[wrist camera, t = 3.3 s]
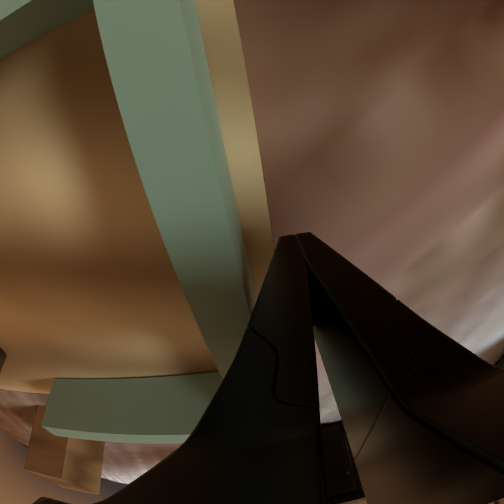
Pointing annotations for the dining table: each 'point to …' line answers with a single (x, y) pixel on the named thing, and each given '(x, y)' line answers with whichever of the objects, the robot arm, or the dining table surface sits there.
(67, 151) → the board
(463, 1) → the dining table surface
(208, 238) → the housing
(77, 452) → the block
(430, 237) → the dining table surface
